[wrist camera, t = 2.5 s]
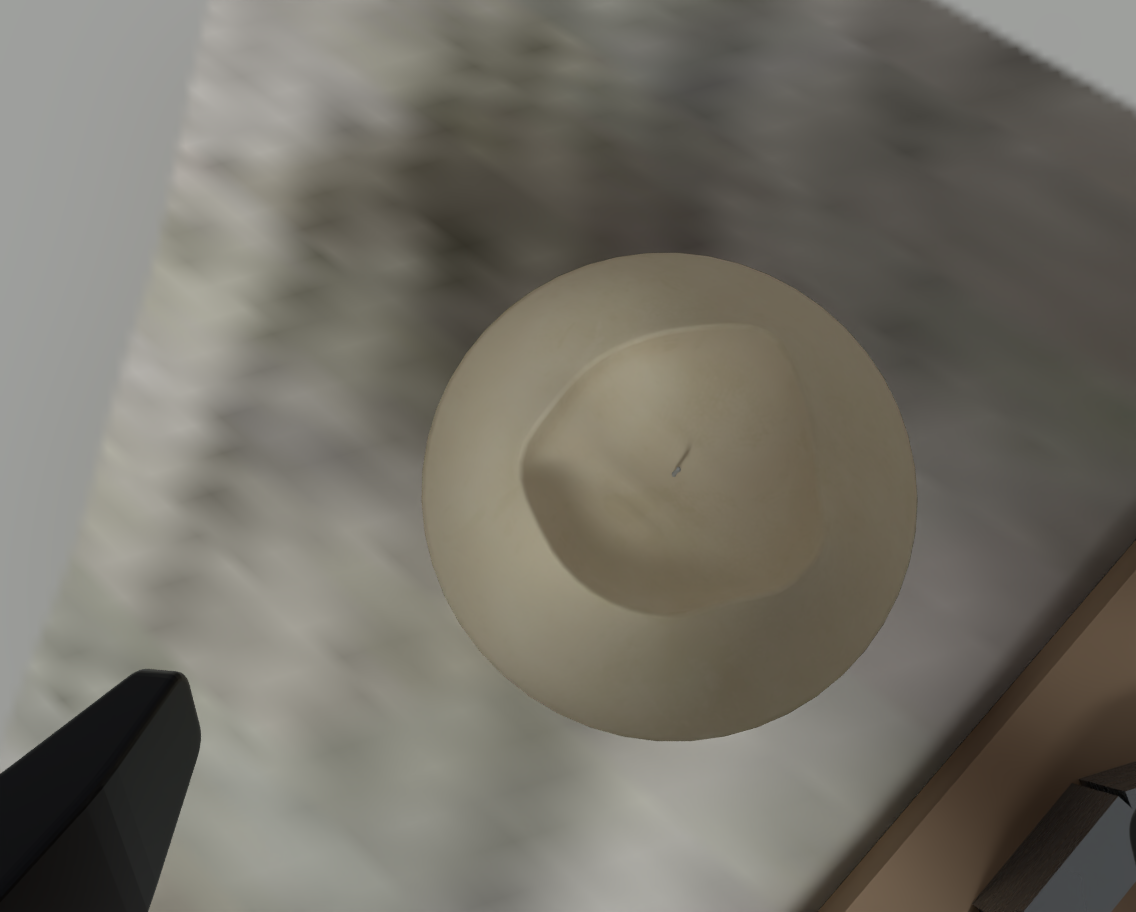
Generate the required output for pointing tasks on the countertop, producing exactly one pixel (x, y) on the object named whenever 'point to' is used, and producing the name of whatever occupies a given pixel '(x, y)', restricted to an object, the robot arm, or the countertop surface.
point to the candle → (669, 496)
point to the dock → (1029, 787)
